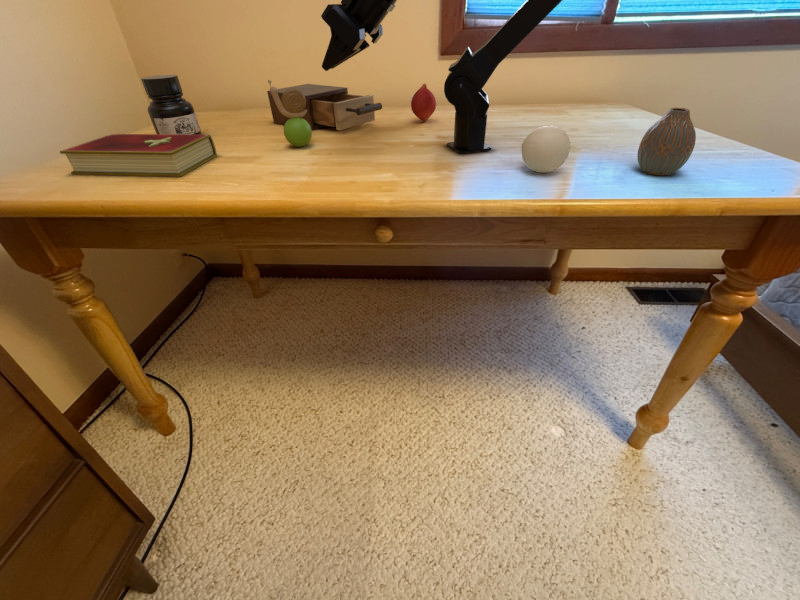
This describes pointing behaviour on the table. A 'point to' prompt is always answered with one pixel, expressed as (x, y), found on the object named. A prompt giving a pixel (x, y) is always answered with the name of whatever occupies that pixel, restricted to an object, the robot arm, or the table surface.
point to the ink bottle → (169, 106)
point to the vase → (667, 143)
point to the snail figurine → (293, 115)
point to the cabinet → (309, 93)
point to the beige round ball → (545, 149)
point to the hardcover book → (141, 154)
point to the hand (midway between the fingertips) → (326, 67)
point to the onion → (423, 103)
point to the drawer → (343, 110)
